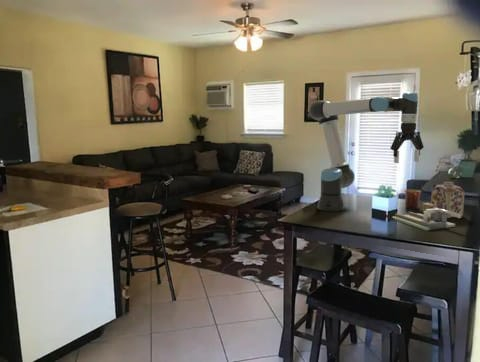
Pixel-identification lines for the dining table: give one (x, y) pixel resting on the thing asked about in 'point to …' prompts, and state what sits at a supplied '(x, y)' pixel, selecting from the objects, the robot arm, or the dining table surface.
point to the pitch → (416, 220)
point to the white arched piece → (435, 211)
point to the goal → (434, 224)
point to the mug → (412, 198)
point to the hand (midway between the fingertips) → (406, 162)
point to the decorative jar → (448, 198)
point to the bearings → (441, 216)
